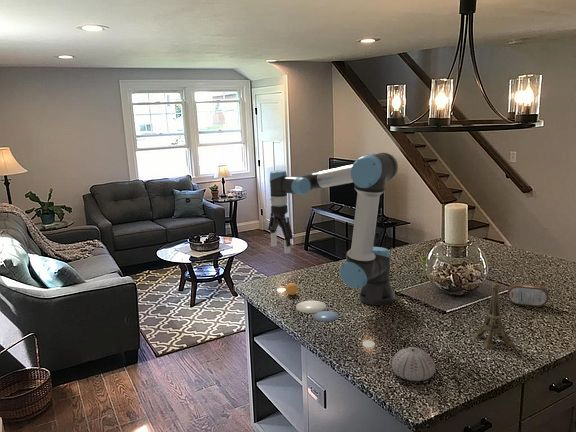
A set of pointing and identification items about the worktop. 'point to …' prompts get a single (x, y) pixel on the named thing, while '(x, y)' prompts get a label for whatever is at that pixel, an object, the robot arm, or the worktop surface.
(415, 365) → the sea urchin shell
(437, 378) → the worktop surface
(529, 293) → the tin
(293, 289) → the ball
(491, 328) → the eiffel tower
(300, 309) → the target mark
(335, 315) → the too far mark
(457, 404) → the worktop surface
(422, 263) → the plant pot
